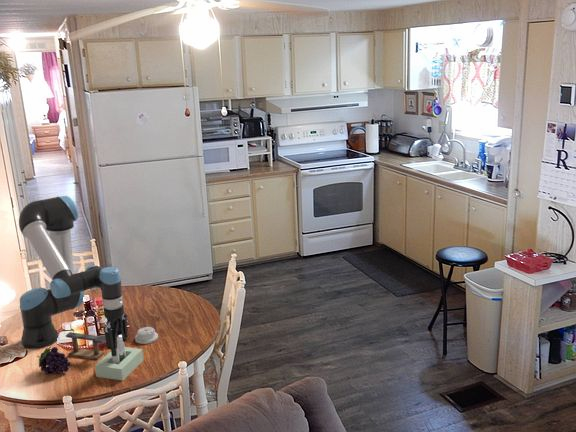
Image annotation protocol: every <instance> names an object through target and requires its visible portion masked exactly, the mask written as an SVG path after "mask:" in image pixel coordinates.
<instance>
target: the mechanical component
mask: <svg viewBox="0 0 576 432" xmlns="http://www.w3.org/2000/svg"><path fill="white" fill-rule="evenodd" d="M134 338H135V339H134V340H135V342H136V343H137V344H142V345H147V344H151V343H154V342H156V341H157V340H158V339H159V334H158V333H157V332H156V330H155V328H153V327H152V326H147V327H141V328H139V329H138V330H137V334H136V335H135V337H134Z"/></svg>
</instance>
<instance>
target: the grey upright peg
mask: <svg viewBox="0 0 576 432" xmlns="http://www.w3.org/2000/svg"><path fill="white" fill-rule="evenodd" d="M117 347H118V351H119V360H120V362H121V361H123V360H124V359H125V357H124V348H123V339H122V334H121V333H117ZM120 362H119V363H120ZM119 363H115V364H119Z"/></svg>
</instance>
